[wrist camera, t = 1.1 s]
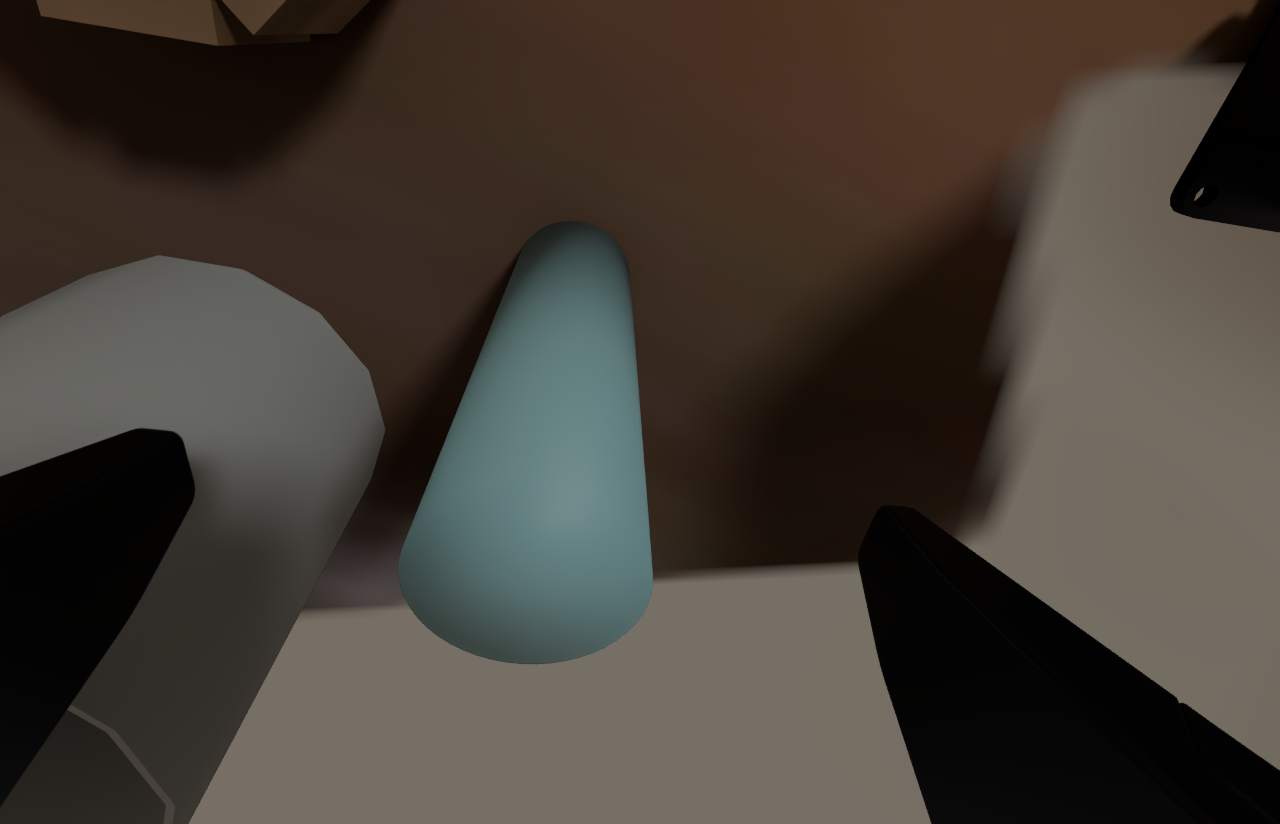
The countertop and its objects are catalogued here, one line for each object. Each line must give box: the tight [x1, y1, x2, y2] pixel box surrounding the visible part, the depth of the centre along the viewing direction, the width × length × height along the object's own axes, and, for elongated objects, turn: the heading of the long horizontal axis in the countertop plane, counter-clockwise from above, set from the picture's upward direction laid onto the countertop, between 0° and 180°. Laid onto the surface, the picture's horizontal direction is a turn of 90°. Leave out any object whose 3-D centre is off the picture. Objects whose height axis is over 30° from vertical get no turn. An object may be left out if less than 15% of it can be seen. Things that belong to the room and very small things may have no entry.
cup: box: [0, 255, 385, 824], centre depth 13 cm, size 8×8×10 cm
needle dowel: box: [398, 221, 653, 664], centre depth 11 cm, size 3×3×10 cm
